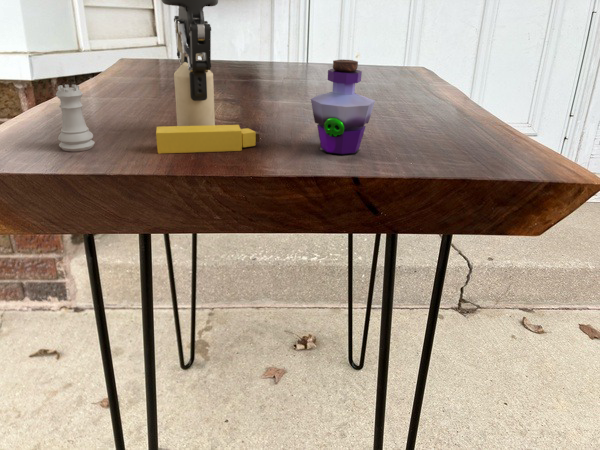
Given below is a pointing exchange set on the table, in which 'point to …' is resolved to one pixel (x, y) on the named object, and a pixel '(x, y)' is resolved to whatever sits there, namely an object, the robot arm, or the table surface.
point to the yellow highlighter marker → (204, 138)
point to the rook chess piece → (73, 121)
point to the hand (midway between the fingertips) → (194, 95)
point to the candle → (188, 108)
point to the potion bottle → (342, 111)
